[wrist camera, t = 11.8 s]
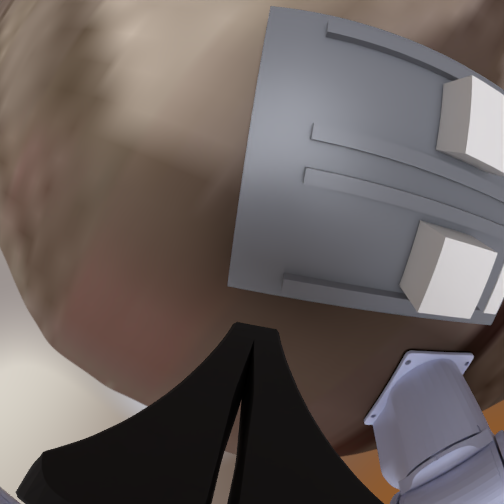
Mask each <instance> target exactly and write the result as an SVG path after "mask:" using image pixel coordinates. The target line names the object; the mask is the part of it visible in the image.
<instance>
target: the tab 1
mask: <svg viewBox="0 0 504 504" xmlns="http://www.w3.org/2000/svg"><path fill="white" fill-rule="evenodd" d="M436 150H437V151H439V152H442V153H444V154H447V155H449V156H452V157H454V158H456V159H459V160H461V161H463V162H465V163H468V164H470V165H472V166H474V167H476V168H478V169H480V170H482V171H484V172H487V173H492V174H496V175H499V176H503V177H504V95H503V94H502V93H500V92H499V91H497V90H496V89H494V88H492V87H491V86H489V85H488V84H486V83H485V82H483V81H481V80H480V79H478V78H476V77H475V76H473V75H471V76H468V77H465V78H461V79H458V80H455V81H451V82H448V83H445V84H443V98H442V108H441V118H440V126H439V133H438V140H437V146H436Z"/></svg>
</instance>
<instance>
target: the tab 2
mask: <svg viewBox="0 0 504 504" xmlns="http://www.w3.org/2000/svg"><path fill="white" fill-rule="evenodd" d="M497 254H498V253H497V252H495V251H494V250H492V249H491V248H489V247H488V246H486V245H485V244H483V243H482V242H480V241H479V240H477V239H475V238H474V237H472V236H471V235H468V234H465V233H462V232H459V231H455V230H452V229H449V228H446V227H442V226H439V225H435V224H432V223H428V222H425V221H421V220H420V223H419V227H418V230H417V233H416V237H415V240H414V243H413V247H412V250H411V253H410V256H409V259H408V262H407V265H406V268H405V271H404V273H403V276H402V279H401V282H400V284H399V286H400V287H401V289H402V290H403V292H404V293H405V295H406V296H407V297H408V299H409V300H410V302H411V303H412V305H413V306H414V308H415V309H416V311H417V312H418V313H425V314H433V315H441V316H449V317H458V318H466V319H470V318H471V316H472V314H473V312H474V310H475V308H476V306H477V304H478V301H479V299H480V297H481V295H482V292H483V290H484V288H485V285H486V283H487V280H488V278H489V275H490V273H491V270H492V268H493V265H494V262H495V259H496V256H497Z"/></svg>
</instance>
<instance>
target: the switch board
mask: <svg viewBox="0 0 504 504" xmlns="http://www.w3.org/2000/svg"><path fill="white" fill-rule="evenodd" d="M471 75H473V76H475V77H476V78H478V79H480V80H481V81H483V82H485V83H486V84H488V85H489V86H491V87H492V88H494V89H496V90H497V91H499V92H500V93H502V94H503V95H504V90H503V89H501V88H500V87H498V86H497V85H495V84H494V83H492V82H491V81H489V80H488V79H486V78H485V77H483V76H481V75H480V74H478V73H476V72H475V71H473V70H471V69H469V68H468V67H466V66H464V65H462V64H460V63H459V62H457V61H455V60H453V59H451V58H449V57H447V56H445V55H443V54H441V53H439V52H437V51H435V50H432V49H430V48H428V47H426V46H423V45H421V44H419V43H416V42H414V41H412V40H409V39H406V38H404V37H401V36H399V35H396V34H393V33H390V32H387V31H385V30H382V29H378V28H375V27H372V26H369V25H365V24H362V23H358V22H355V21H351V20H347V19H343V18H339V17H335V16H330V15H326V14H321V13H315V12H310V11H304V10H298V9H291V8H283V7H274V6H271V7H270V13H269V18H268V24H267V29H266V35H265V40H264V46H263V51H262V57H261V63H260V69H259V75H258V81H257V87H256V93H255V99H254V105H253V111H252V117H251V124H250V130H249V136H248V143H247V149H246V156H245V162H244V169H243V176H242V183H241V190H240V196H239V203H238V210H237V218H236V225H235V232H234V239H233V247H232V254H231V262H230V269H229V277H228V285H227V286H229V287H234V288H240V289H245V290H250V291H255V292H261V293H266V294H271V295H277V296H283V297H288V298H294V299H300V300H305V301H311V302H317V303H323V304H330V305H336V306H342V307H349V308H355V309H362V310H369V311H376V312H383V313H390V314H397V315H405V316H412V317H420V318H428V319H437V320H446V321H455V322H464V323H474V324H484V325H491V324H492V322H493V320H494V318H495V316H496V314H497V312H498V310H499V308H500V306H501V303H502V301H503V299H504V177H503V176H499V175H496V174H492V173H487V172H484V171H482V170H480V169H478V168H476V167H474V166H472V165H470V164H468V163H465V162H463V161H461V160H459V159H456V158H454V157H452V156H449V155H447V154H444V153H442V152H439V151H437V150H436V146H437V140H438V133H439V126H440V118H441V108H442V98H443V84H445V83H448V82H451V81H455V80H458V79H461V78H465V77H468V76H471ZM420 220H421V221H425V222H428V223H432V224H435V225H439V226H442V227H446V228H449V229H452V230H455V231H459V232H462V233H465V234H468V235H471V236H472V237H474V238H475V239H477V240H479V241H480V242H482V243H483V244H485V245H486V246H488V247H489V248H491V249H492V250H494V251H495V252H497V253H498V254H497V256H496V259H495V262H494V265H493V268H492V270H491V273H490V275H489V278H488V280H487V283H486V285H485V288H484V290H483V292H482V295H481V297H480V299H479V301H478V304H477V306H476V308H475V310H474V312H473V314H472V316H471V318H470V319H466V318H458V317H449V316H441V315H433V314H425V313H418V312H417V311H416V309H415V308H414V306H413V305H412V303H411V302H410V300H409V299H408V297H407V296H406V295H405V293H404V292H403V290H402V289H401V287H400V286H399V284H400V282H401V279H402V276H403V273H404V271H405V268H406V265H407V262H408V259H409V256H410V253H411V250H412V247H413V243H414V240H415V237H416V233H417V230H418V227H419V223H420Z"/></svg>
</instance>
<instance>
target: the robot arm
mask: <svg viewBox="0 0 504 504" xmlns="http://www.w3.org/2000/svg"><path fill="white" fill-rule="evenodd" d="M473 358H474V356H473V354H472V353H456V352H432V351H415V350H410V351H408V352H406V353H405V355H404V357H403V358H402V360H401V362H400V364H399V366H398V367H397V369H396V371H395V372H394V374H393V376H392V378H391V379H390V381H389V383H388V384H387V386H386V387H385V389H384V391H383V392H382V394H381V395H380V397H379V398H378V400H377V401H376V403H375V404H374V406H373V407H372V409H371V410H370V412H369V413H368V415H367V416H366V418H365V419H364V423H365V424H366V425H373V429H374V434H375V439H376V444H377V450H378V454H379V461H380V467H381V471H382V474H383V476H384V478H385V479H386V480H387V482H388V483H390V485H392V486H393V487H395V488H397V489H399V490H400V492H398V493H396V494H395V495H394V496H393V498H392V500H391V502H390V504H504V431H503V430H501V431H499V432H498V433H497V434H496V435H494V434H493V433H492V432H491V430H490V428H489V426H488V424H487V421H486V419H485V417H484V415H483V413H482V411H481V409H480V407H479V405H478V403H477V401H476V399H475V397H474V395H473V393H472V392H471V390H470V388H469V386H468V384H467V382H466V381H465V379H464V377H463V374H464V372H465V371H466V369H467V368H468V366H469V365H470V363H471V361H472V360H473ZM408 360H409V361H408ZM406 361H407V362H406ZM241 399H242V402H241ZM240 402H241V412H240V423H239V435H238V446H237V456H236V463H235V470H234V475H233V479H232V484H231V489H230V493H229V498H228V503H227V504H384V503H382V502H381V501H380V500H379V499H378V498H377V497H376V496H375V495H374V494H373V493H372V492H371V491H370V490H369V489H368V488H367V487H366V486H365V485H364V484H363V483H362V482H361V481H360V480H359V479H358V478H357V477H356V476H355V475H354V473H353V472H352V471H351V470H350V469H349V468H348V466H347V465H346V464H345V463H344V461H343V460H342V459H341V458H340V457H339V455H338V454H337V453H336V452H335V450H334V449H333V448H332V446H331V445H330V443H329V442H328V440H327V439H326V438H325V436H324V435H323V433H322V432H321V430H320V428H319V427H318V425H317V424H316V422H315V420H314V419H313V417H312V415H311V413H310V412H309V410H308V408H307V406H306V404H305V402H304V400H303V398H302V396H301V394H300V392H299V390H298V388H297V385H296V383H295V381H294V378H293V376H292V374H291V371H290V369H289V366H288V363H287V361H286V358H285V355H284V352H283V348H282V345H281V341H280V336H279V332H278V331H277V330H276V329H271V328H266V327H260V326H255V325H250V324H244V323H239V322H236V323H234V324H233V325H232V327H231V328H230V330H229V331H228V333H227V334H226V336H225V337H224V338H223V340H222V341H221V342H220V343H219V345H218V346H217V347H216V348H215V349H214V350H213V351H212V353H211V354H210V355H209V356H208V357H207V358H206V359H205V360H204V361H203V362H202V363H201V364H200V365H199V366H198V367H197V368H196V369H195V370H194V371H193V372H192V373H191V374H190V375H189V376H187V377H186V378H185V379H184V380H183V381H182V382H181V383H179V384H178V385H177V386H176V387H175V388H173V389H172V390H171V391H170V392H168V393H167V394H166V395H164V396H163V397H161V398H160V399H159V400H157V401H156V402H154V403H153V404H151V405H150V406H148V407H147V408H145V409H143V410H142V411H140V412H139V413H137V414H136V415H134V416H132V417H130V418H128V419H127V420H125V421H123V422H121V423H119V424H117V425H115V426H113V427H110V428H108V429H106V430H104V431H102V432H100V433H97V434H95V435H93V436H91V437H88V438H86V439H83V440H80V441H77V442H74V443H71V444H68V445H64V446H61V447H58V448H55V449H51V450H47V451H45V452H43V453H42V454H41V456H40V457H39V458H38V459H37V460H36V461H35V462H34V464H33V465H32V466H31V468H30V469H29V471H28V473H27V474H26V476H25V478H24V479H23V481H22V483H21V484H20V486H19V488H18V489H17V491H16V494H17V497H18V498H19V499H20V500H21V501H23V502H24V503H25V504H211V503H212V499H213V494H214V490H215V486H216V482H217V478H218V473H219V469H220V465H221V461H222V458H223V454H224V451H225V448H226V445H227V442H228V439H229V436H230V433H231V430H232V427H233V424H234V421H235V418H236V415H237V412H238V409H239V406H240ZM0 504H20V503H19V502H18V501H17V500H15V499H14V498H13V497H12V496H10V495H9V494H8V493H7V492H6V491H4V490H3V489H2V488H1V487H0Z"/></svg>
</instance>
